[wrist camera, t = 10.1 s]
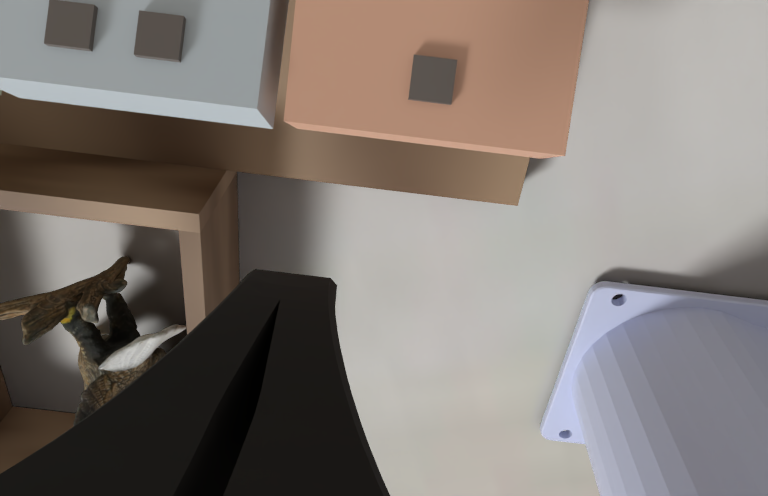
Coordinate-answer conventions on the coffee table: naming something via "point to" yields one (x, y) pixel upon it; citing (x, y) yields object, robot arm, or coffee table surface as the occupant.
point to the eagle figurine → (94, 333)
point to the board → (198, 190)
